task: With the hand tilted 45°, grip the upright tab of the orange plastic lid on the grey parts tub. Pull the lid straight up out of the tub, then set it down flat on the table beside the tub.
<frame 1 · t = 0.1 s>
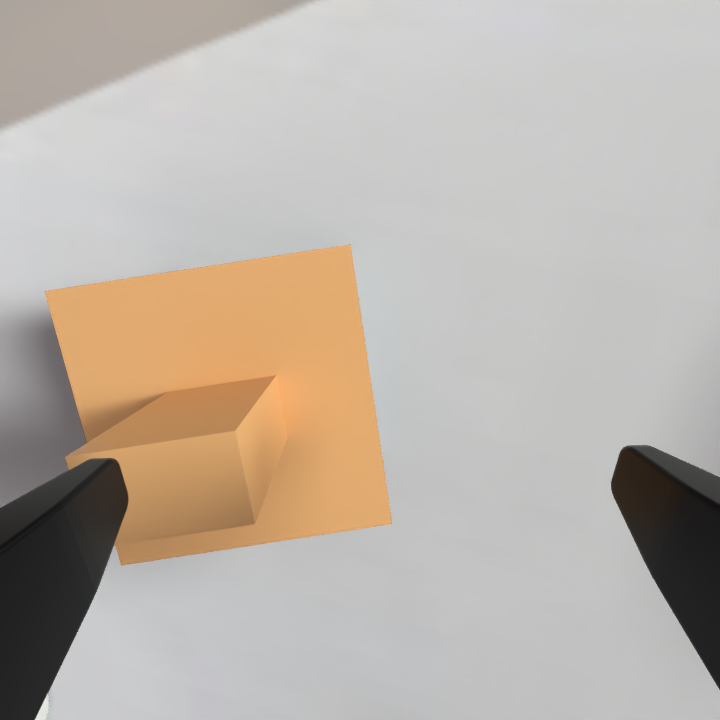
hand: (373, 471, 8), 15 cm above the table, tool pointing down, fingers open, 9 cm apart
lid: (242, 398, 18), point 5 cm above the table, touching tub
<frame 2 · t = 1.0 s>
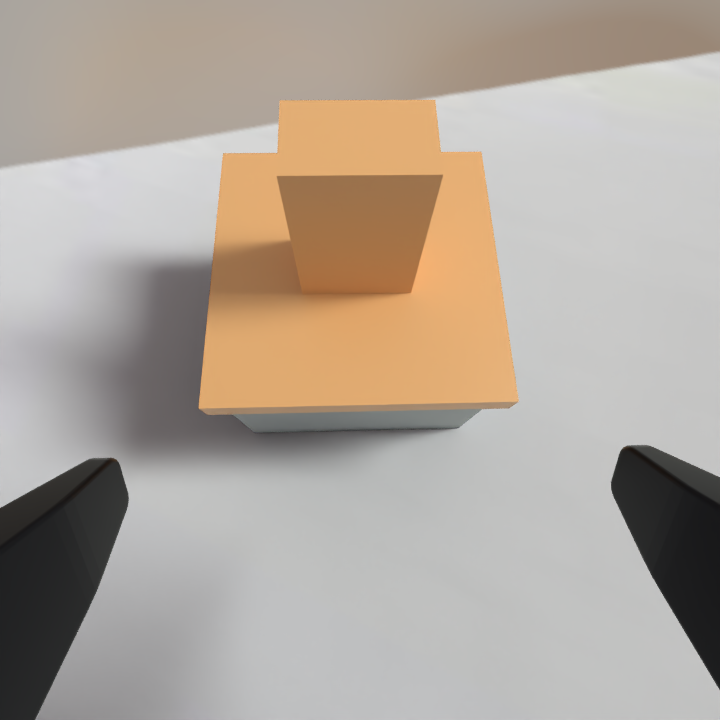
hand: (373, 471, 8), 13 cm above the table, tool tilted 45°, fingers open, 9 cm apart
lid: (355, 292, 19), point 5 cm above the table, touching tub
tub: (354, 336, 23), on the table
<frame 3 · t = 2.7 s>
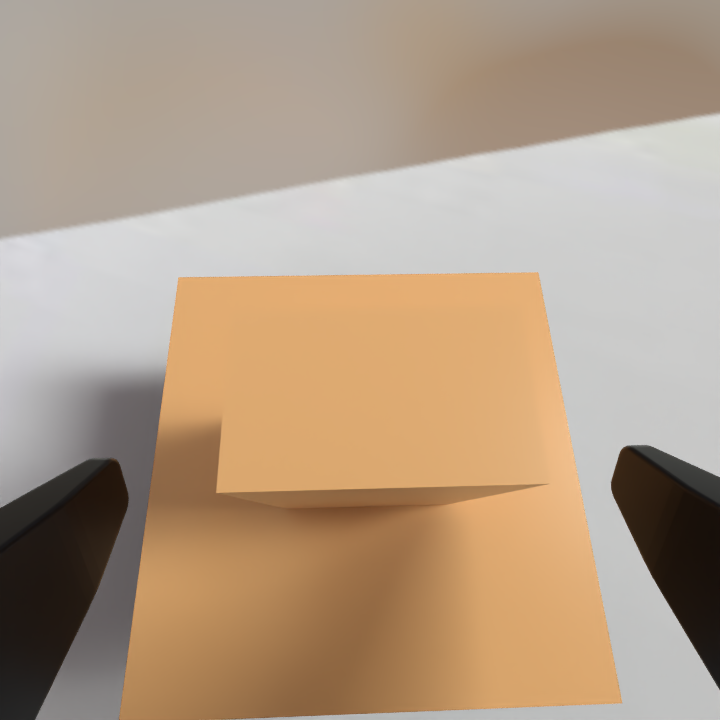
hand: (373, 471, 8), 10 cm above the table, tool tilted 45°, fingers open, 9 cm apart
lid: (363, 467, 13), point 5 cm above the table, touching tub
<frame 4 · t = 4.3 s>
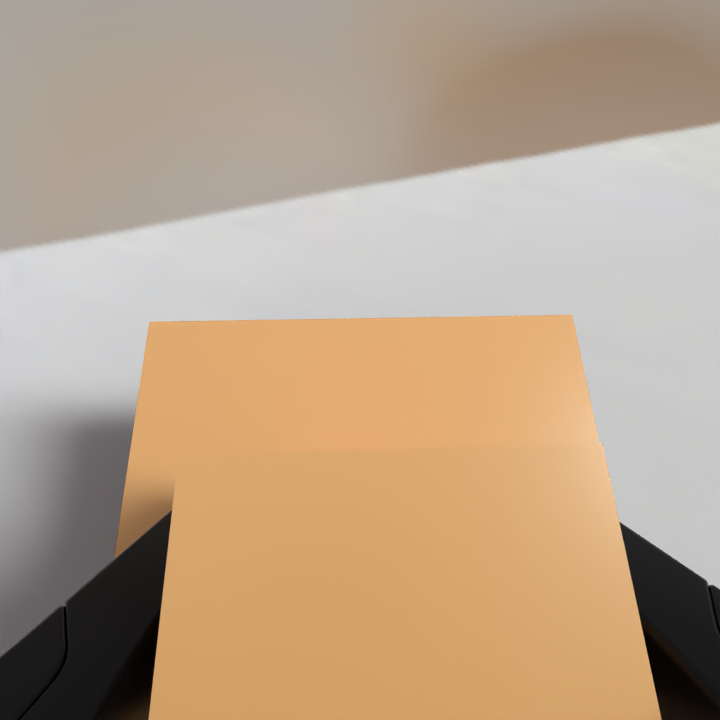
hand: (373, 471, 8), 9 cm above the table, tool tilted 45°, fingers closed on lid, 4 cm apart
lid: (367, 542, 11), point 5 cm above the table, touching gripper, tub
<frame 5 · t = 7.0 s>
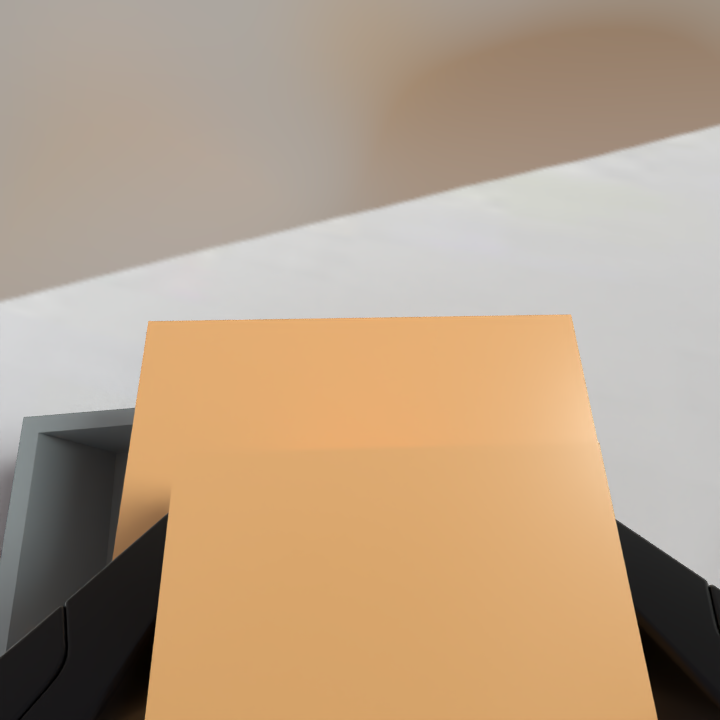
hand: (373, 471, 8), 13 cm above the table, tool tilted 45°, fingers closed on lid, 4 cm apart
lid: (366, 542, 11), point 9 cm above the table, touching gripper
tub: (213, 544, 20), on the table
when the fingers open (6 cm above the table, at t = 9.8 s): lid drops 2 cm, on the table.
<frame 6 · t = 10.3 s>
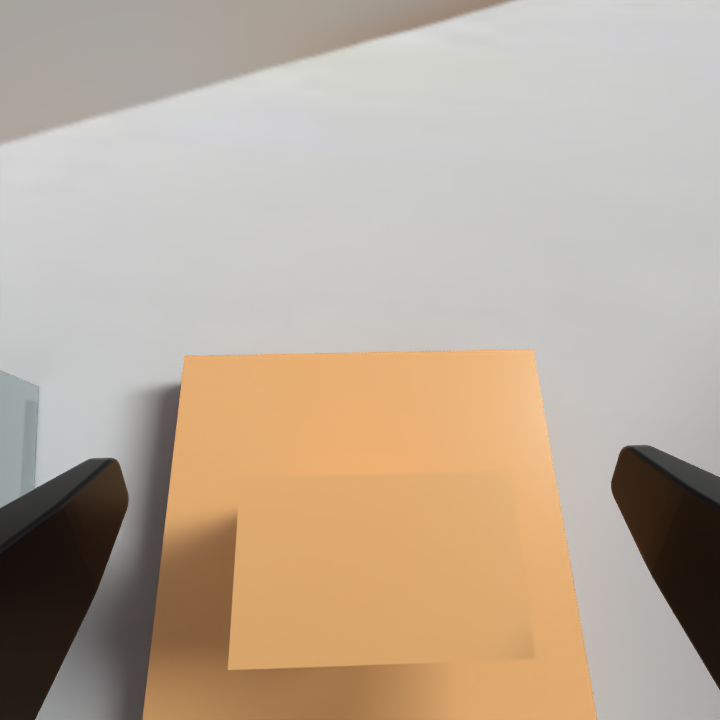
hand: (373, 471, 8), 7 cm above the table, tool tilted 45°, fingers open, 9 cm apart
lid: (364, 537, 14), on the table
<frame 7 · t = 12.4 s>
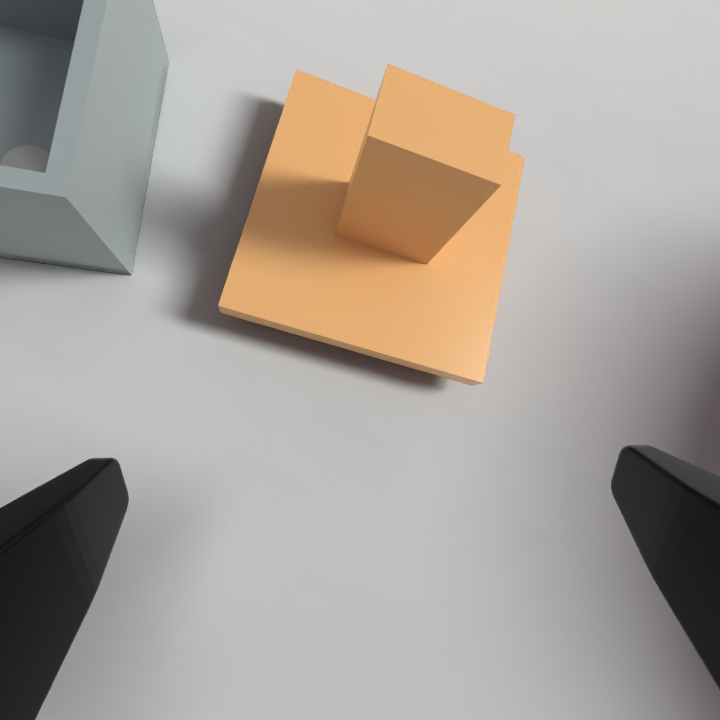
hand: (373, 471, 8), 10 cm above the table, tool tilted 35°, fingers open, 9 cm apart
lid: (375, 245, 20), on the table
tub: (17, 138, 18), on the table
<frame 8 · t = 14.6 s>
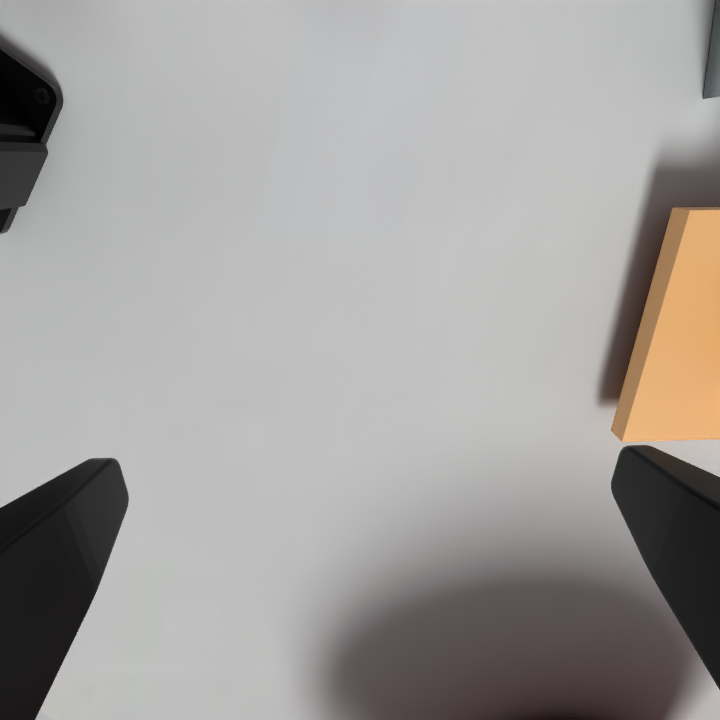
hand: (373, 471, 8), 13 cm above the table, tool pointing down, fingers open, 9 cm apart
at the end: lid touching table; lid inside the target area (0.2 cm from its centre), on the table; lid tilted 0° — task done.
